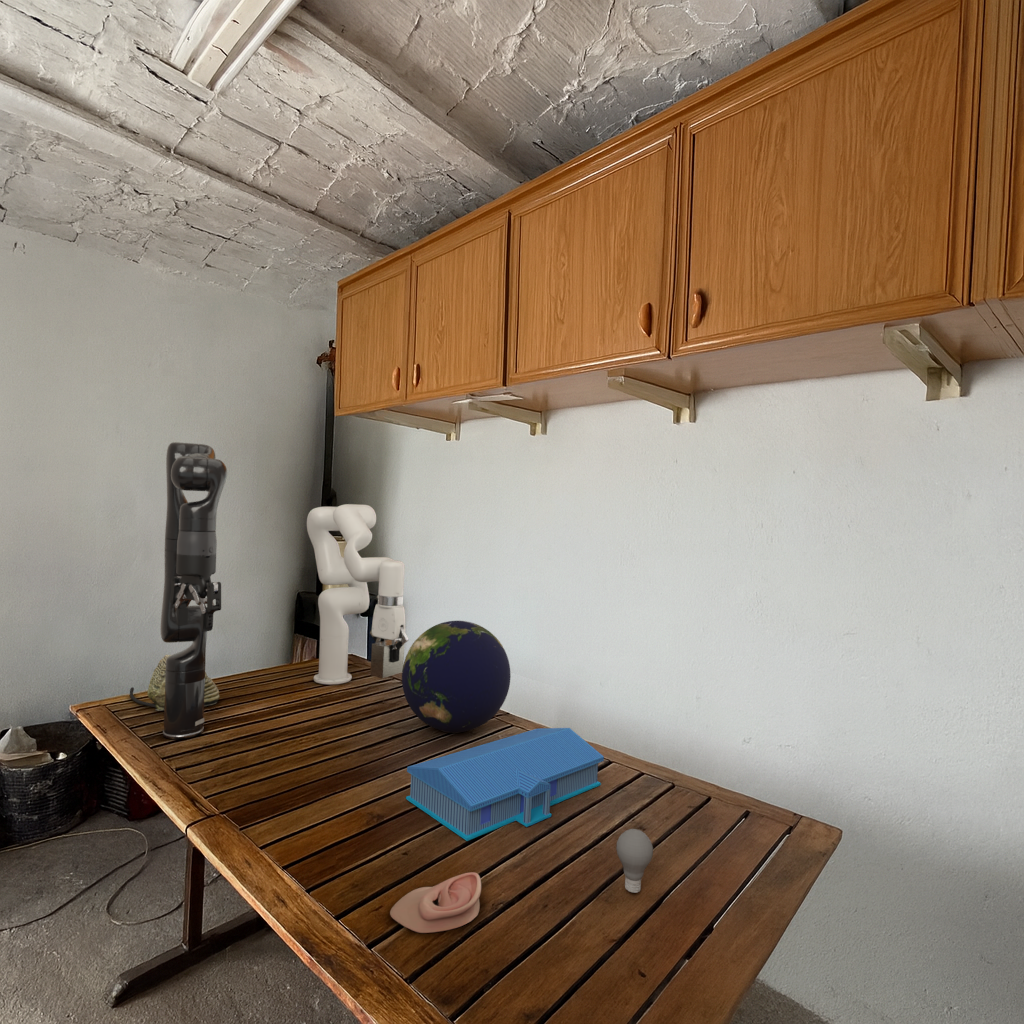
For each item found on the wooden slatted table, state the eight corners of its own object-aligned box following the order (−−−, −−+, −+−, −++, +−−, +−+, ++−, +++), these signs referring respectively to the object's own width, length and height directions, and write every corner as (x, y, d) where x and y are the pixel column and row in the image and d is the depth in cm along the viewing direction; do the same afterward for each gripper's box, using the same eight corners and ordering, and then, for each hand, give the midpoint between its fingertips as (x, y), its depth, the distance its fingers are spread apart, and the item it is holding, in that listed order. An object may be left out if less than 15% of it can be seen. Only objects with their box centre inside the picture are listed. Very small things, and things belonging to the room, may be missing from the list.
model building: (477, 848, 116) (480, 794, 116) (404, 798, 134) (406, 751, 134) (612, 789, 143) (614, 745, 142) (536, 754, 161) (537, 715, 161)
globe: (377, 737, 168) (382, 624, 167) (433, 705, 195) (437, 608, 195) (480, 759, 156) (485, 638, 156) (523, 721, 184) (528, 619, 183)
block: (370, 675, 191) (371, 643, 191) (391, 669, 199) (392, 638, 199) (382, 678, 189) (384, 646, 189) (403, 672, 197) (404, 641, 196)
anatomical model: (382, 899, 94) (410, 857, 105) (381, 926, 94) (409, 881, 105) (468, 915, 91) (487, 870, 103) (467, 942, 92) (486, 894, 103)
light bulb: (610, 879, 108) (613, 822, 108) (644, 879, 109) (647, 822, 109) (619, 902, 102) (622, 840, 102) (655, 901, 103) (658, 840, 103)
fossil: (144, 707, 182) (145, 655, 182) (212, 696, 194) (213, 647, 194) (151, 716, 175) (153, 662, 175) (221, 703, 188) (223, 653, 188)
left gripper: (159, 550, 135) (157, 626, 135) (201, 555, 127) (198, 635, 128) (193, 548, 141) (190, 621, 141) (234, 553, 134) (231, 630, 134)
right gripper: (361, 598, 195) (358, 657, 195) (403, 606, 186) (400, 667, 186) (378, 596, 201) (375, 652, 202) (420, 603, 192) (417, 662, 193)
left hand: (194, 628), depth 135 cm, fingers open, 8 cm apart
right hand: (387, 659), depth 194 cm, fingers closed on block, 5 cm apart
